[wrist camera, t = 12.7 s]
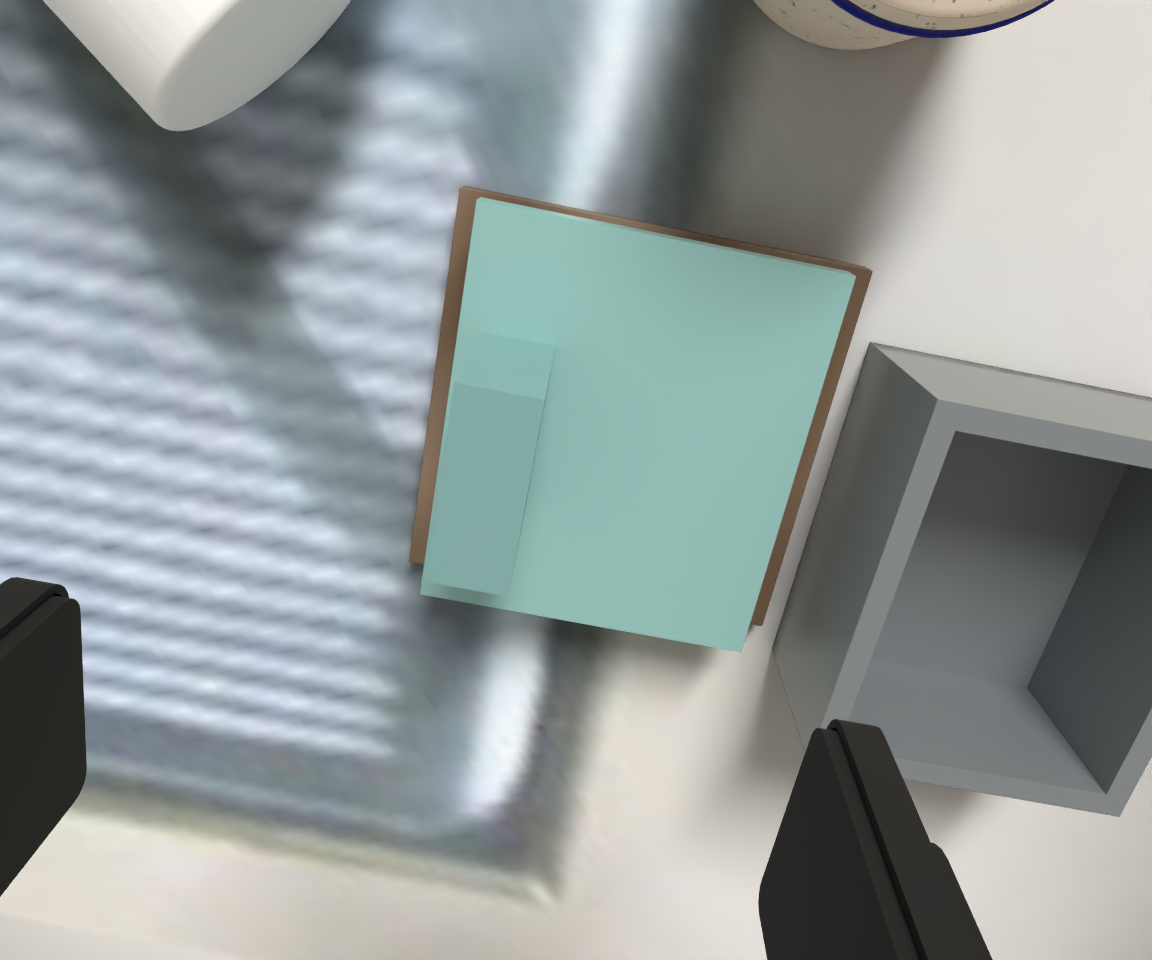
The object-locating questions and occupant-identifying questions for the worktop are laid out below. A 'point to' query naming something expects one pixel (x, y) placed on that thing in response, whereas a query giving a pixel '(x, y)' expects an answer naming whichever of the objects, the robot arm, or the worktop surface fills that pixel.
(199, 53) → the mug
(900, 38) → the teacup with lid
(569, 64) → the worktop surface
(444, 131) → the worktop surface
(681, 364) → the lid
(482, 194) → the board
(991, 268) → the worktop surface
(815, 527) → the tub
